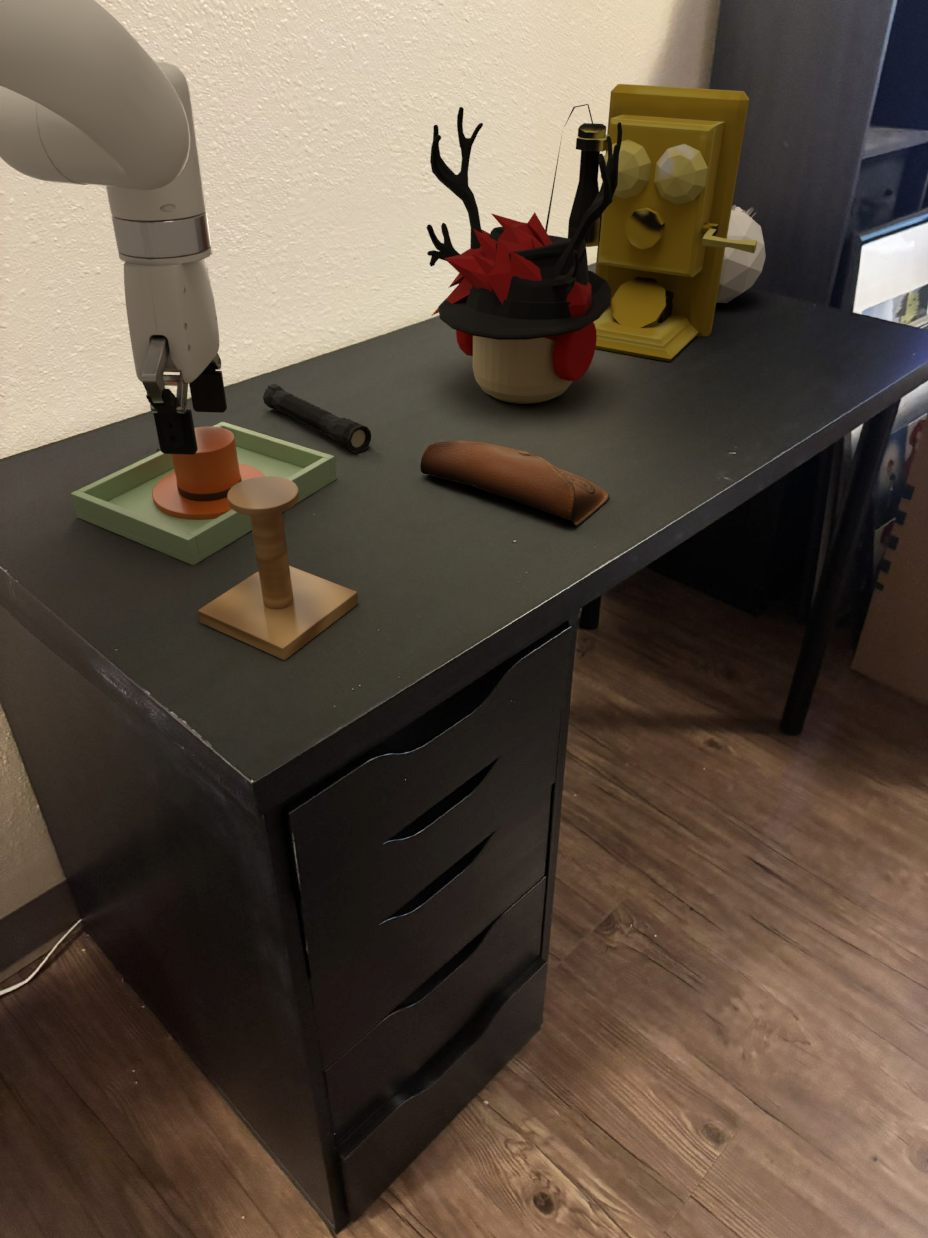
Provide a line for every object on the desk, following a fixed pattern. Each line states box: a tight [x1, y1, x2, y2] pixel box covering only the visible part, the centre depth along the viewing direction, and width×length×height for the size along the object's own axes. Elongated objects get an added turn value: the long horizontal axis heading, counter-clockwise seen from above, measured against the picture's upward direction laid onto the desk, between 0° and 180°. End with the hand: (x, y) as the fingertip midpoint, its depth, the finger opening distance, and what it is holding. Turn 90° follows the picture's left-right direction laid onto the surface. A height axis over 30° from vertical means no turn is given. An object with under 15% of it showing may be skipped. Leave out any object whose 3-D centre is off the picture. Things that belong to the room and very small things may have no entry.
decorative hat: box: [426, 106, 622, 405], centre depth 103 cm, size 23×21×30 cm
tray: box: [70, 421, 337, 566], centre depth 89 cm, size 20×16×3 cm
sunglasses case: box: [419, 440, 610, 527], centre depth 90 cm, size 18×7×7 cm
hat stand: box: [197, 476, 359, 661], centre depth 70 cm, size 9×9×11 cm
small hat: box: [152, 425, 265, 520], centre depth 88 cm, size 11×11×6 cm
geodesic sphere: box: [716, 204, 767, 304], centre depth 138 cm, size 15×14×14 cm
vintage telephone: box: [544, 83, 757, 363], centre depth 119 cm, size 31×14×30 cm, turn 61°
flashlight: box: [262, 383, 372, 454], centre depth 102 cm, size 3×16×3 cm, turn 44°
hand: (195, 430), depth 85 cm, fingers open, 9 cm apart
